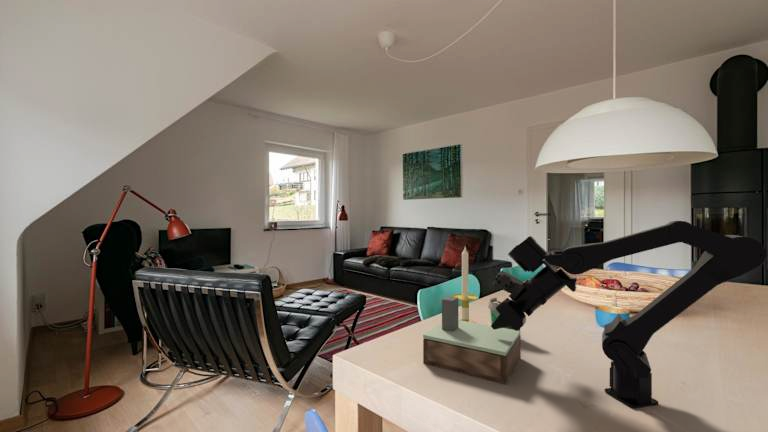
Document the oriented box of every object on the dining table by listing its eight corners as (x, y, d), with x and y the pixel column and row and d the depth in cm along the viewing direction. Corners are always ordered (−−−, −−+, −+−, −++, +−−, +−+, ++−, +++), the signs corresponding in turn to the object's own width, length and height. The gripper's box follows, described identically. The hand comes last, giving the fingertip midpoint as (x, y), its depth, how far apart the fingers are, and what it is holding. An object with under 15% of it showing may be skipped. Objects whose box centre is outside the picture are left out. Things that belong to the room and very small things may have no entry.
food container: (479, 329, 109) (479, 298, 109) (495, 327, 111) (495, 297, 111) (506, 343, 97) (506, 308, 97) (523, 340, 99) (523, 306, 99)
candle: (482, 332, 107) (482, 247, 107) (450, 330, 108) (450, 246, 108) (478, 322, 117) (478, 244, 116) (449, 320, 118) (449, 243, 118)
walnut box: (520, 358, 87) (520, 335, 87) (505, 384, 74) (505, 357, 74) (447, 342, 98) (447, 321, 98) (423, 363, 85) (423, 339, 84)
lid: (520, 333, 87) (520, 300, 87) (505, 355, 74) (505, 315, 74) (447, 320, 98) (447, 290, 98) (423, 338, 84) (423, 303, 84)
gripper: (522, 256, 88) (480, 294, 94) (505, 266, 72) (456, 310, 78) (556, 290, 84) (510, 327, 90) (546, 308, 68) (491, 351, 74)
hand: (492, 327), depth 83 cm, fingers closed
